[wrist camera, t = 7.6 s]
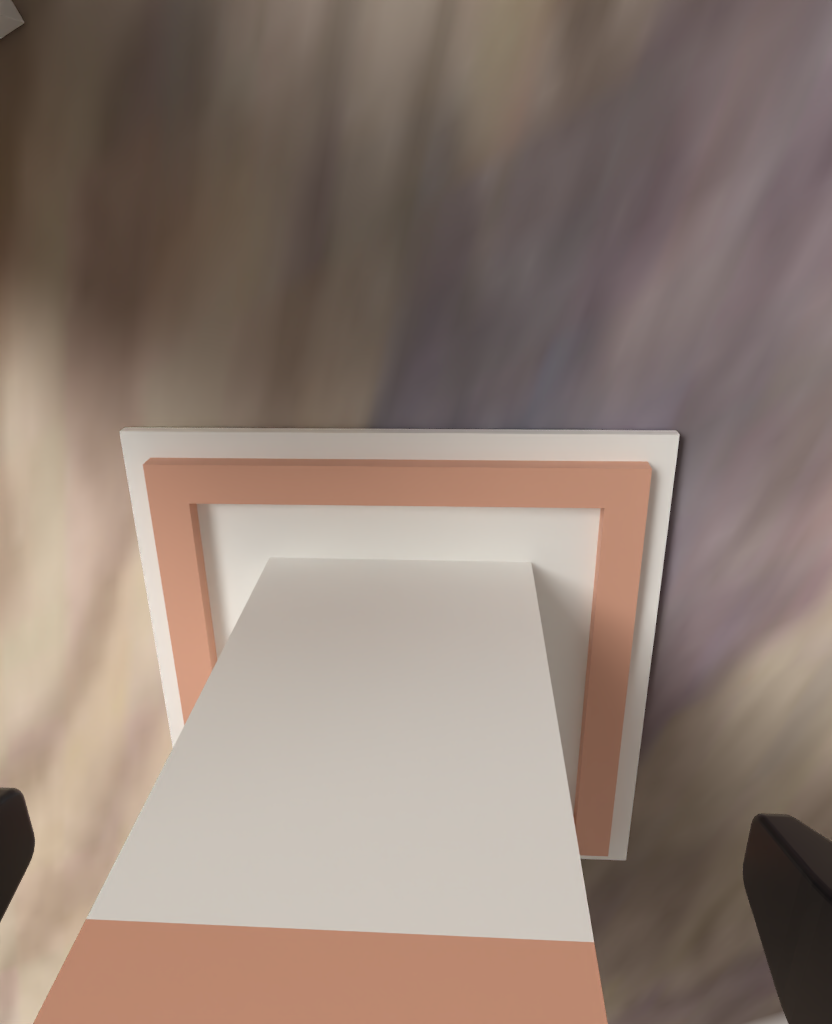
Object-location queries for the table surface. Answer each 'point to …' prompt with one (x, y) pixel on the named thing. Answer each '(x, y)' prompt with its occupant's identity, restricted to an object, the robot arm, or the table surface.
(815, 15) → the table surface
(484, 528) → the white flat square plate
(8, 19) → the button box
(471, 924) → the white orange-topped block
